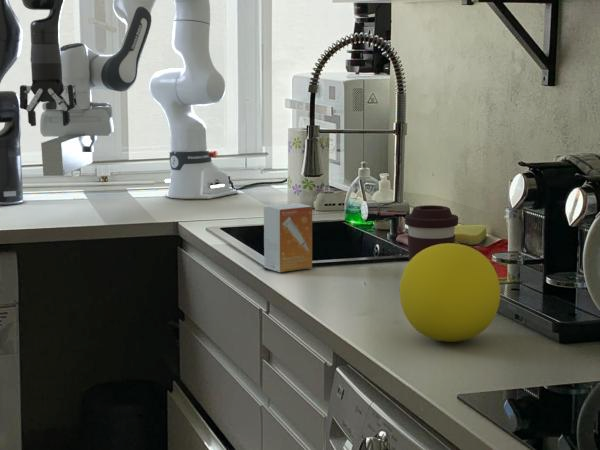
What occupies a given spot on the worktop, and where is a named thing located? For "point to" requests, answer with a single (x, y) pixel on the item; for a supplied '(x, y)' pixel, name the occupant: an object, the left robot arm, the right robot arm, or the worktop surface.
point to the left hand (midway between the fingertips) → (49, 125)
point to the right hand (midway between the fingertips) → (78, 152)
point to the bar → (65, 154)
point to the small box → (288, 237)
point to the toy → (450, 292)
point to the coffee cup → (429, 227)
